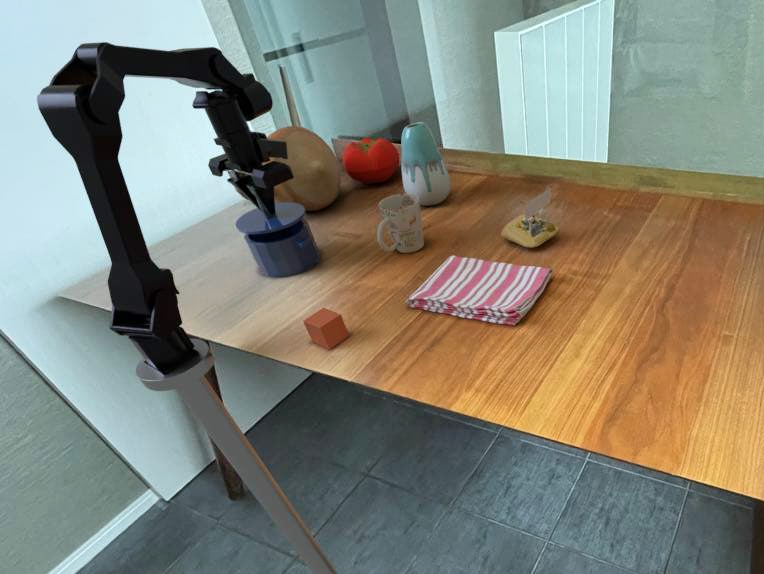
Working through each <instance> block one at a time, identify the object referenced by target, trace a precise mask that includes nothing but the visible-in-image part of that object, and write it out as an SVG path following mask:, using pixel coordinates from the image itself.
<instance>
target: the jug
mask: <svg viewBox="0 0 764 574" xmlns="http://www.w3.org/2000/svg"><path fill="white" fill-rule="evenodd" d="M266 137H267V139H274V140H280V141H286V143H287V154H288V159H283V158H273V157H269V158H270V160H271V161H268V162H266V163H265V162H264V163H262V165H265V164H267V163H269V162H272V161H276V162H281V163H285V164H286V165H288V166H290V167H291V170H292V172H293V175H294V178H293V179H290V180H288V181H286V182H283V183H281V184H279V185H277V186H274V200H275V203H283V202H292V203H298V204H301V205H302V206H303V207H304V208H305V211H306V212H310V211H311V212H314V211H319V210H322V209H324V208H326V207H329V206H330V205H331V204H332V203H333V202H334V201H335V200H336V198H337V197H338V194H339V192H340V187H341V183H342V182H341V170H340V166H339V161H338V159H337V157H336V154H335V153H334V151H333V149H332V148H331V147H330V145H328V144H327V142H326V141H325V140H324V139H323V138H322V137H321V136H319V135H318V134H317V133H315V132H314V131H311V130H309V129H307V128H305V127H303V126H297V125H289V126H288V125H287V126H284V127H282V128H281V127H280V128H279V129H276V130H274V131H273V132H272V133H270V134H269V135H268V136H266ZM234 190H235V192H237V193H238V194H239V195H240V196H241V197H242V198H243V199H245V200H246V201H250V200H249V199H248V198H247V197H245V196H244V195H243V194H242V193H241V192H240V191H239V190H238V189H237V188H236V187H234Z"/></svg>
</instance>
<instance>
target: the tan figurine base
mask: <svg viewBox="0 0 764 574" xmlns="http://www.w3.org/2000/svg"><path fill="white" fill-rule="evenodd" d="M551 195H552V187H551V186H550V187H548V188H547V189H546V190H544V191H543V192H542V193H540V194H538V195H536V196H535V197H534V198H532V199H530V201H528V202H526V203H525V204H524V213H523V214H521V215H520V216H518V217H516V218H514V219H513V220H511V221H510V222H508V223H507V224H505V226H504V227H503V228H502V230H501V232H500V237H502V238H504V239H507V240H509V241H510V242H513V243H515V244H517V245H519V246H521V247H524V248H531V249H534V248H537V247H539V246H540V245H542V244H544V243H545V242H546V241H548V240H550V239H552V238H553V237H554V236H555V235H557V234H558V232H559V227H558V226H557V225H556V224H554V222H551V221H550V220H547V219H546V214H548V209H545V207H547V206H548V205H549V204H550V203H551ZM565 202H567V200H565ZM537 213H538V214H539V215H538V216H536V214H537Z"/></svg>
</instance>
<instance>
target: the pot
mask: <svg viewBox="0 0 764 574" xmlns="http://www.w3.org/2000/svg"><path fill="white" fill-rule="evenodd" d="M243 239H244V241H245V243H246V245H247V247H248V249H249V251H250V252H251V255H252V257H253V259H254V261H255V263H256V265H257V267H258V269H259V270H260V273H261V274H262V275H264V276H266V277H270V278H285V277H291V276H294V275H298V274H301V273H303V272H305V271H308V270H309V269H311V268H312V267H314V266H316V264H317V263H318V262H319V261H320V258H321V253H320V249H319V247H318V245H317V242H316V240H315V238H314V235H313V232H312V230H311V227H310V224H309V222H308V221H307V220H306V218H305V217H303V218H302V219H301V220H300V221H299V222H297V223H295V224H294V225H292V226H289V227H287V228H285V229H282V230H278V231H275V232H270V233H264V234H245V233H244V235H243Z"/></svg>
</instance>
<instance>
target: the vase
mask: <svg viewBox="0 0 764 574" xmlns="http://www.w3.org/2000/svg"><path fill="white" fill-rule="evenodd" d="M400 141H401V142H400V143H401V146H400V147H401V165H400V166H401V181H402V186H403V189H404V192H405V194H413V195H416V196H417V197H418V198H419V203H420V206H422V207H430V206H435V205H439V204H441V203H443V202H444V201H445V200H446V199H447V198H448V196H449V194H450V192H451V185H452V184H451V183H452V182H451V176H450V173H449V170H448V167H447V163H446V162H445V160H444V158H443V155H442V153H441V151H440V149H439V147H438V145H437V143H436V140H435V137H434V135H433V133H432V131H431V129H430V128H429V126H428V125H427V124H426V123H425V121H418V122H414V123H410V124H408V125H405V127H404V128H403V130H402V133H401V140H400Z"/></svg>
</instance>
